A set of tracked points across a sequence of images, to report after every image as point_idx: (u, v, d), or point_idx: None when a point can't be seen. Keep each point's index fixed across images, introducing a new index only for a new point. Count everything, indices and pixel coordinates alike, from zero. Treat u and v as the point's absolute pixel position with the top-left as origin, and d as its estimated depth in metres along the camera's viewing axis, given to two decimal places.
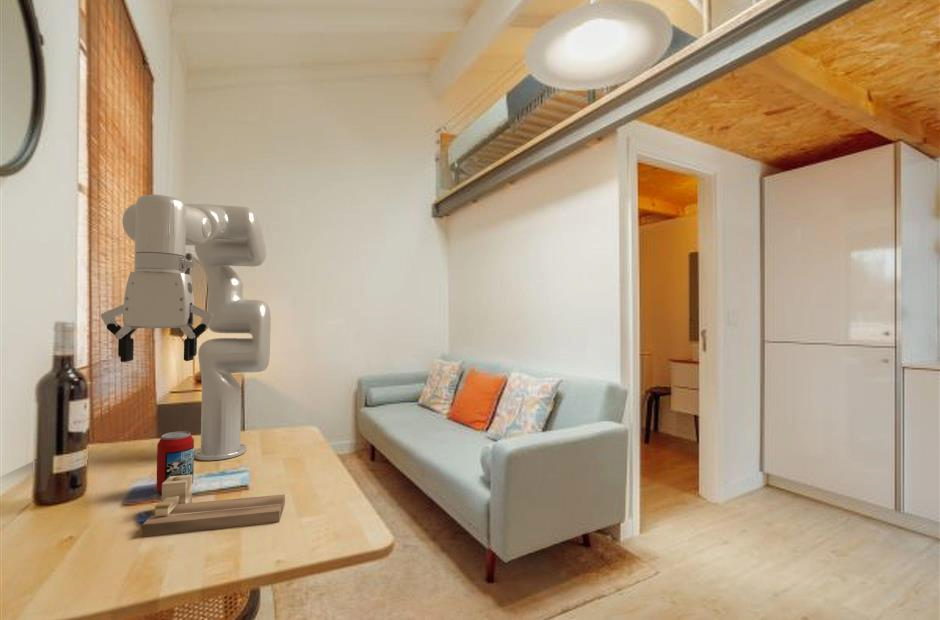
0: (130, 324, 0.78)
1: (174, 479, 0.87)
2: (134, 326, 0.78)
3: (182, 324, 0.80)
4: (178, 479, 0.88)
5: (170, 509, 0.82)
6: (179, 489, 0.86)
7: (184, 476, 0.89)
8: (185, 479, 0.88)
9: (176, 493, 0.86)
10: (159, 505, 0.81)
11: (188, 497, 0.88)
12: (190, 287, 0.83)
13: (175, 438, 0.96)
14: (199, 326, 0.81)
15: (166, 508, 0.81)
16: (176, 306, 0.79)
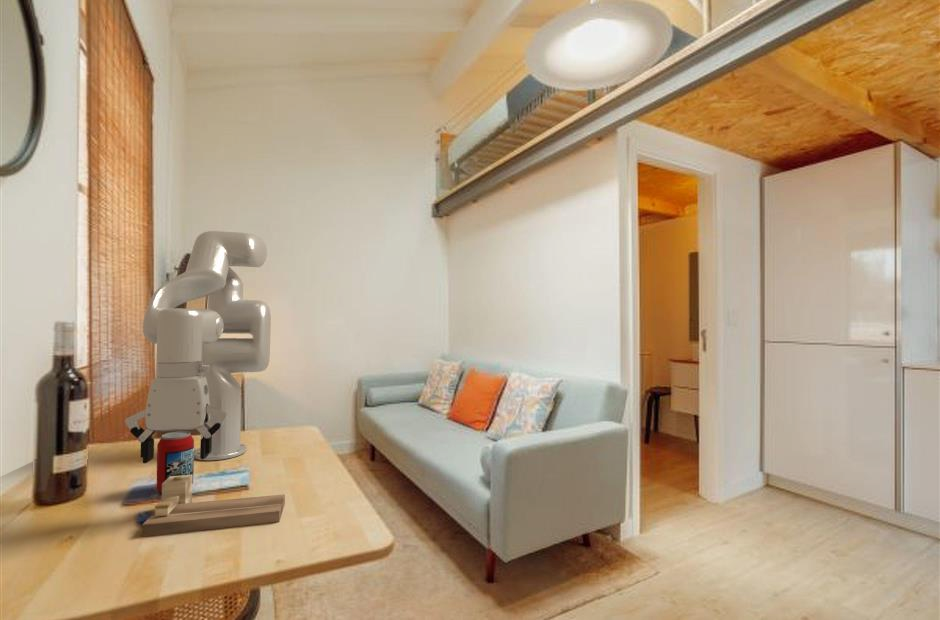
0: (152, 428, 0.85)
1: (174, 479, 0.87)
2: (155, 430, 0.85)
3: (199, 426, 0.87)
4: (178, 479, 0.88)
5: (170, 509, 0.82)
6: (179, 489, 0.86)
7: (184, 476, 0.89)
8: (185, 479, 0.88)
9: (176, 493, 0.86)
10: (159, 505, 0.81)
11: (188, 497, 0.88)
12: (206, 388, 0.90)
13: (175, 438, 0.96)
14: (214, 426, 0.89)
15: (166, 508, 0.81)
16: (194, 410, 0.87)
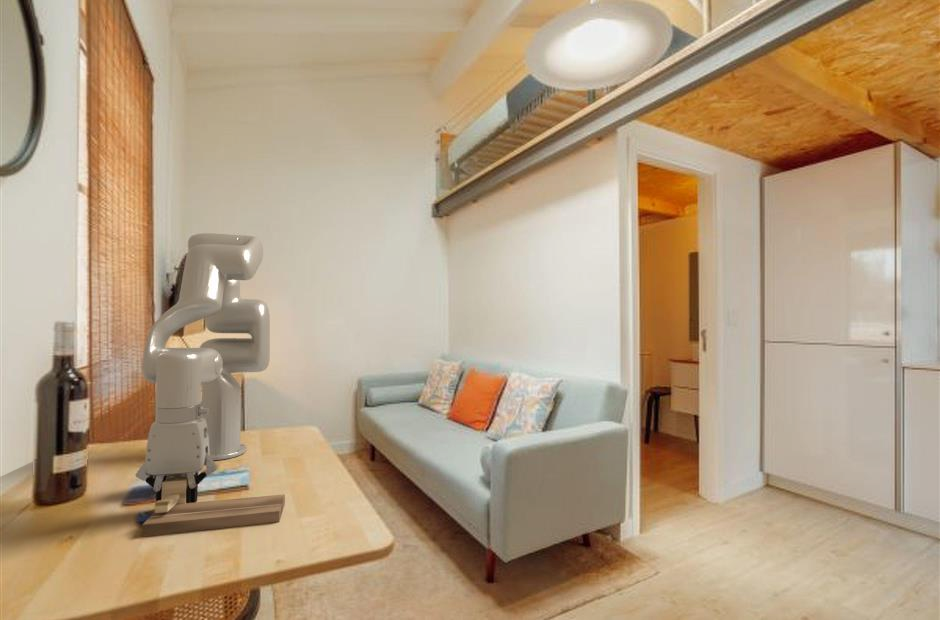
0: (152, 473, 0.85)
1: (174, 478, 0.87)
2: (155, 474, 0.85)
3: (199, 469, 0.87)
4: (178, 478, 0.88)
5: (170, 506, 0.82)
6: (179, 488, 0.86)
7: (184, 476, 0.89)
8: (185, 478, 0.88)
9: (176, 492, 0.86)
10: (159, 502, 0.80)
11: None
12: (206, 430, 0.90)
13: None
14: (199, 475, 0.88)
15: (166, 504, 0.80)
16: (193, 454, 0.87)
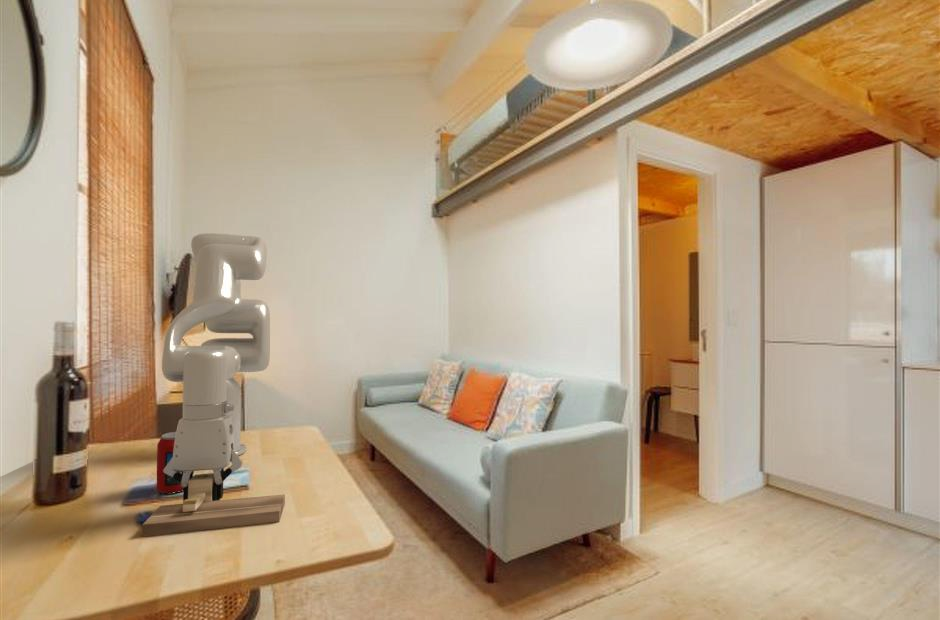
0: (179, 469, 0.86)
1: (200, 476, 0.88)
2: (183, 470, 0.87)
3: (225, 465, 0.89)
4: (204, 476, 0.89)
5: (197, 505, 0.83)
6: (205, 486, 0.87)
7: (209, 474, 0.90)
8: (211, 476, 0.89)
9: (202, 490, 0.87)
10: (187, 500, 0.82)
11: None
12: (231, 427, 0.92)
13: None
14: (225, 472, 0.90)
15: (194, 503, 0.81)
16: (219, 450, 0.88)
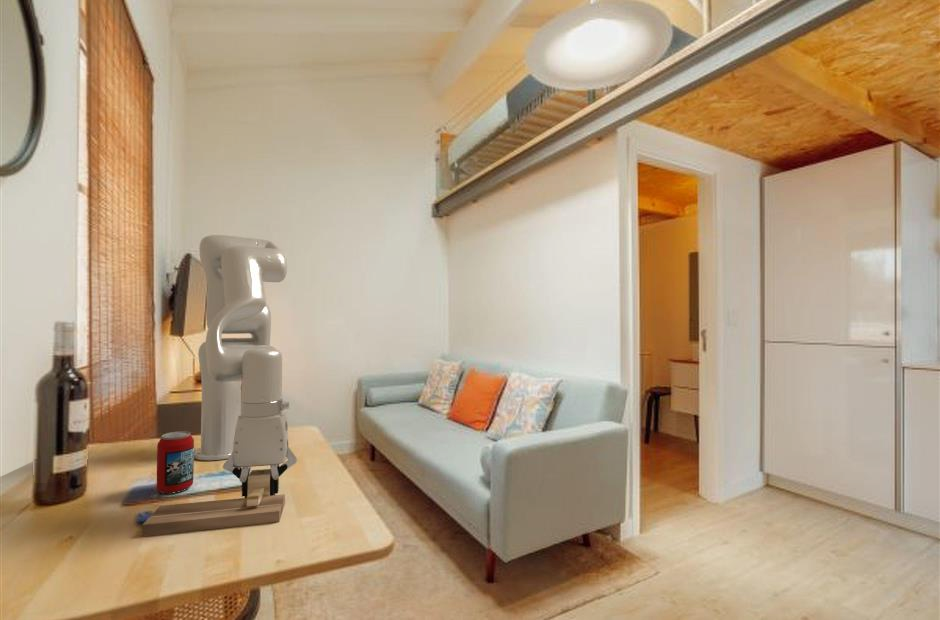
0: (239, 465, 0.89)
1: (258, 472, 0.91)
2: (242, 466, 0.90)
3: (282, 461, 0.91)
4: (261, 472, 0.91)
5: (259, 500, 0.86)
6: (263, 482, 0.90)
7: (265, 470, 0.93)
8: (268, 472, 0.92)
9: (261, 486, 0.90)
10: (250, 496, 0.84)
11: None
12: (286, 424, 0.94)
13: (175, 438, 0.96)
14: (282, 467, 0.92)
15: (257, 499, 0.84)
16: (277, 446, 0.91)
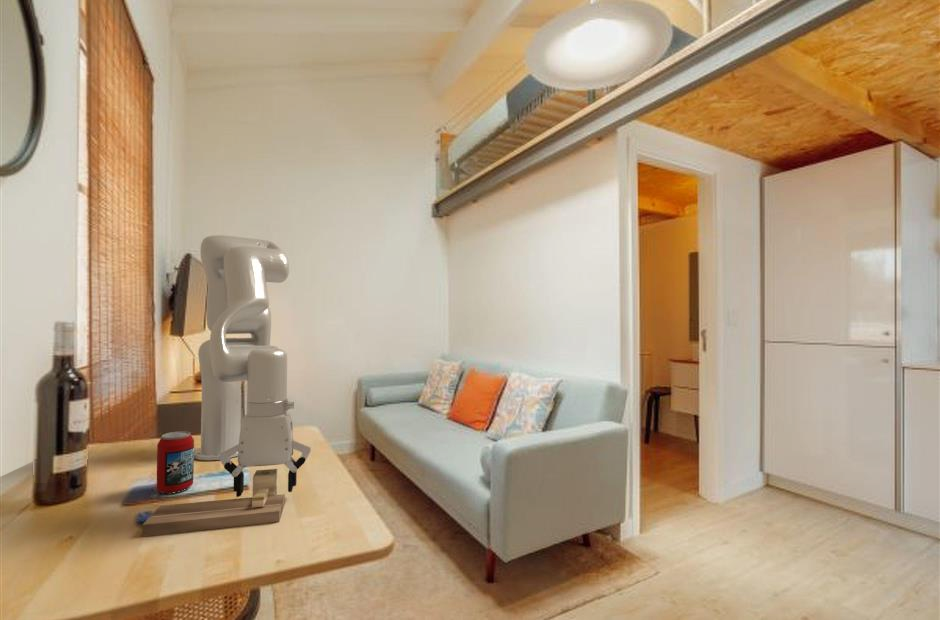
0: (244, 464, 0.89)
1: (263, 472, 0.91)
2: (247, 466, 0.90)
3: (287, 461, 0.92)
4: (266, 473, 0.92)
5: (264, 501, 0.86)
6: (268, 482, 0.90)
7: (270, 470, 0.93)
8: (272, 473, 0.92)
9: (266, 486, 0.90)
10: (255, 497, 0.85)
11: (275, 490, 0.92)
12: (291, 424, 0.95)
13: (175, 438, 0.96)
14: (300, 460, 0.93)
15: (262, 500, 0.85)
16: (282, 446, 0.91)
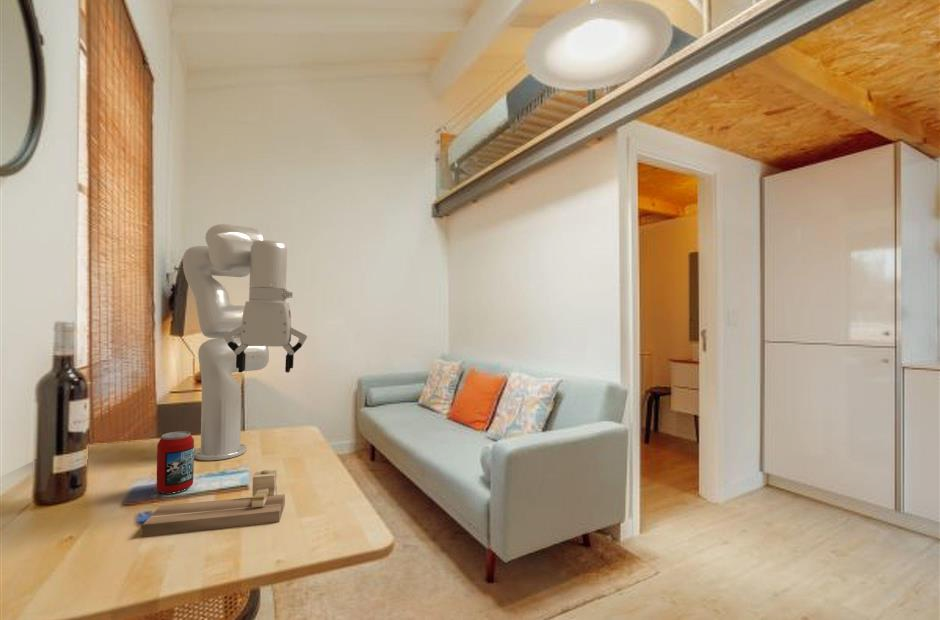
0: (246, 343, 0.98)
1: (263, 472, 0.91)
2: (249, 345, 0.99)
3: (285, 343, 1.01)
4: (266, 473, 0.92)
5: (264, 501, 0.86)
6: (268, 482, 0.90)
7: (270, 470, 0.93)
8: (272, 473, 0.92)
9: (266, 486, 0.90)
10: (255, 497, 0.85)
11: (275, 490, 0.92)
12: (289, 313, 1.03)
13: (175, 438, 0.96)
14: (297, 345, 1.02)
15: (262, 500, 0.85)
16: (281, 329, 1.00)
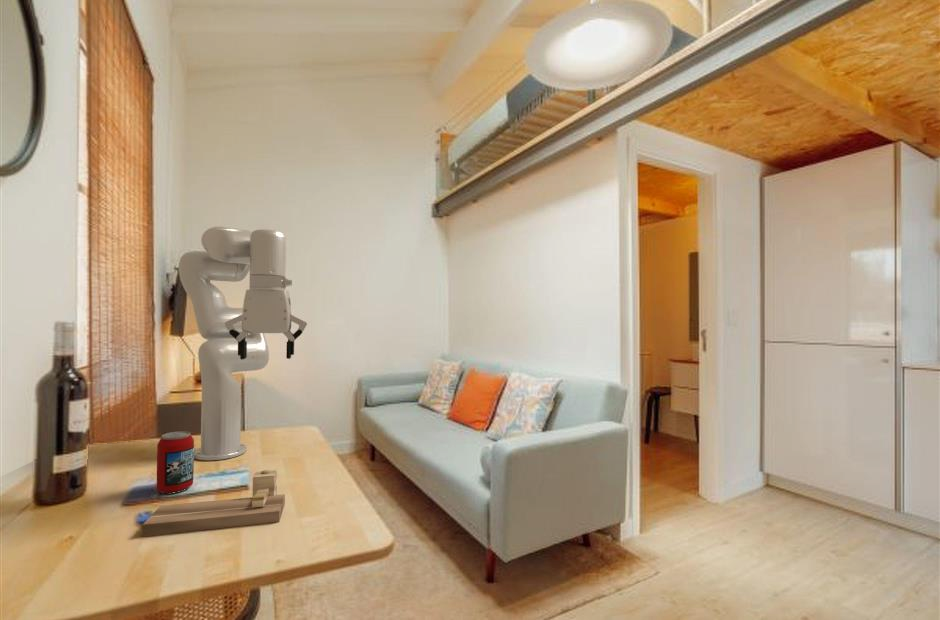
0: (247, 330, 1.00)
1: (263, 472, 0.91)
2: (250, 332, 1.01)
3: (285, 330, 1.03)
4: (266, 473, 0.92)
5: (264, 501, 0.86)
6: (268, 482, 0.90)
7: (270, 470, 0.93)
8: (272, 473, 0.92)
9: (266, 486, 0.90)
10: (255, 497, 0.85)
11: (275, 490, 0.92)
12: (289, 300, 1.06)
13: (175, 438, 0.96)
14: (297, 331, 1.04)
15: (262, 500, 0.85)
16: (281, 316, 1.02)
